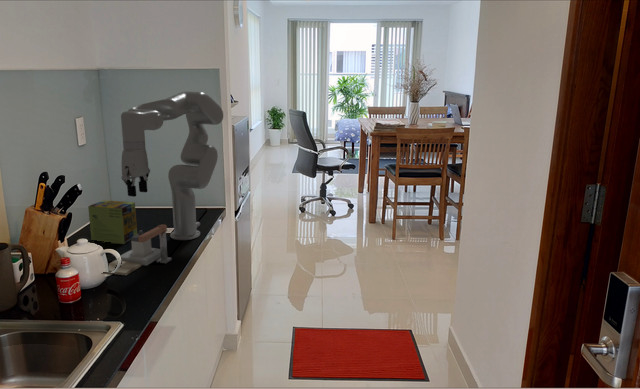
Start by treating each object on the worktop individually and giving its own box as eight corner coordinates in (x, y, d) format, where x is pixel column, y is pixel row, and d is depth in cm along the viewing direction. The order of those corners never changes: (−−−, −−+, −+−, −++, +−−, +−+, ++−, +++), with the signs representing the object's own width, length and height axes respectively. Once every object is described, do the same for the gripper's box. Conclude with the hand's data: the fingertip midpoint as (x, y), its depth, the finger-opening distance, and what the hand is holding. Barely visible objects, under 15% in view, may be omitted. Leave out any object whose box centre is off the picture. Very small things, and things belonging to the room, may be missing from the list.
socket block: (138, 250, 190) (138, 246, 190) (165, 254, 187) (164, 249, 187) (118, 261, 179) (118, 256, 179) (146, 265, 176) (146, 260, 176)
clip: (137, 241, 166) (136, 236, 166) (161, 229, 180) (160, 224, 179) (145, 242, 165) (144, 237, 165) (168, 230, 179) (168, 224, 179)
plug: (140, 255, 186) (138, 228, 184) (152, 256, 185) (150, 229, 182) (132, 259, 182) (130, 232, 179) (144, 261, 180) (142, 233, 178)
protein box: (125, 244, 197) (122, 208, 193) (90, 241, 199) (87, 206, 196) (138, 236, 207) (135, 201, 203) (105, 233, 209) (102, 199, 206)
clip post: (162, 258, 183) (160, 229, 180) (171, 259, 182) (170, 230, 179) (156, 262, 180) (154, 232, 177) (165, 263, 179) (164, 233, 176)
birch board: (115, 262, 178) (115, 259, 178) (141, 266, 176) (141, 263, 175) (99, 271, 170) (98, 269, 170) (125, 275, 167) (125, 272, 167)
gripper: (140, 142, 182) (143, 188, 186) (109, 148, 165) (113, 198, 170) (157, 143, 180) (160, 189, 184) (128, 149, 164) (131, 200, 168)
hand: (137, 193), depth 177 cm, fingers open, 6 cm apart
